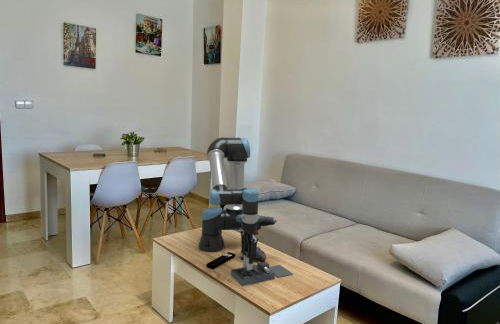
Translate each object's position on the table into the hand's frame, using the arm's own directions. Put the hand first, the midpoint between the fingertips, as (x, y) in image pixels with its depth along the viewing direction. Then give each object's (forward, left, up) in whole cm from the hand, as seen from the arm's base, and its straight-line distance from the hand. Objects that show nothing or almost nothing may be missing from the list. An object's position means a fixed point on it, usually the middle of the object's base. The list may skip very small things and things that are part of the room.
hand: (247, 268), depth 187 cm
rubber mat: (0, +19, -5) cm, 19 cm away
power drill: (-19, +15, -6) cm, 25 cm away
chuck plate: (0, +3, -5) cm, 6 cm away
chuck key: (0, 0, -3) cm, 3 cm away
